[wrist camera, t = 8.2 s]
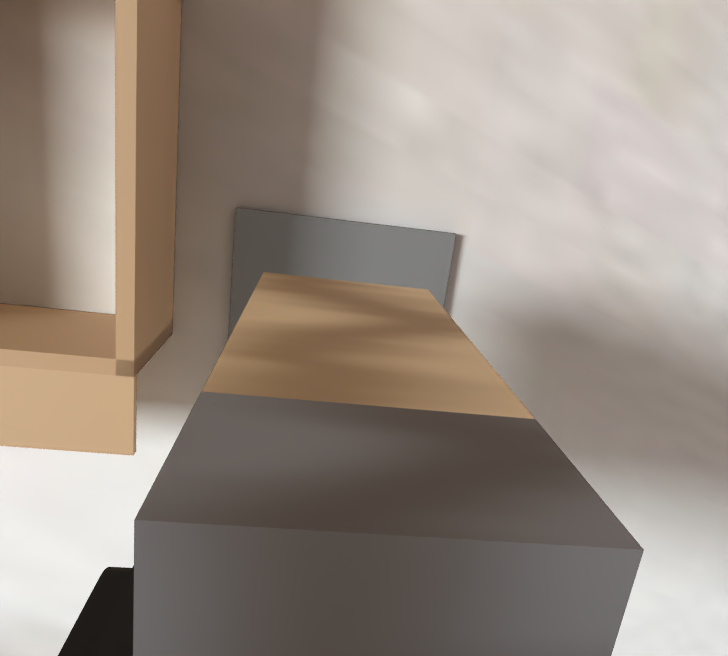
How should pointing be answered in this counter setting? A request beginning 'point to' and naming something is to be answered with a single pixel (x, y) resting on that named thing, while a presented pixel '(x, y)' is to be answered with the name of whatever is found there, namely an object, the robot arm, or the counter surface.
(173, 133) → the carton
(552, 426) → the counter surface
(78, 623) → the robot arm
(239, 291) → the mat
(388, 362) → the block
